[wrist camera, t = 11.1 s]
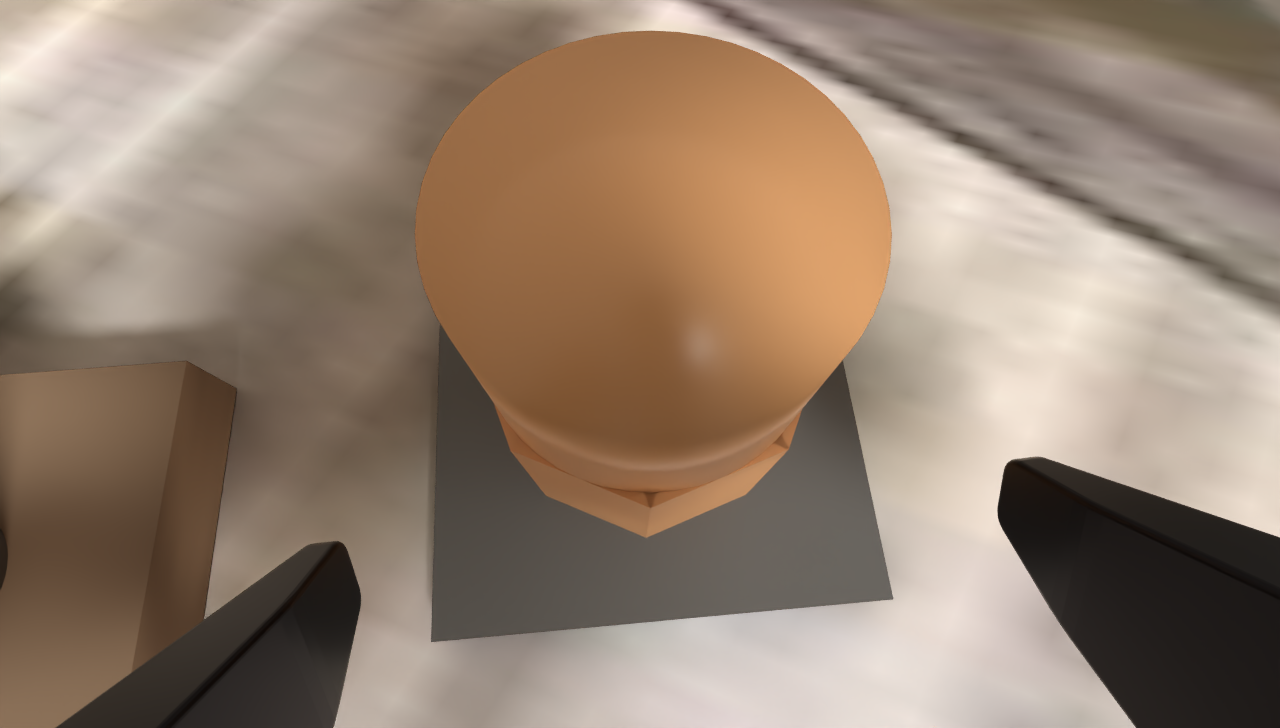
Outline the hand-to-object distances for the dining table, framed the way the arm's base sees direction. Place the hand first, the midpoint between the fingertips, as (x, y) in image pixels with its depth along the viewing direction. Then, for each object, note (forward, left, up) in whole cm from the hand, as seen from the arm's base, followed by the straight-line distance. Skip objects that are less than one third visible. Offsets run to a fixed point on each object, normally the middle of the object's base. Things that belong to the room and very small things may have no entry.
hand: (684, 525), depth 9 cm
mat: (+4, 0, -7) cm, 8 cm away
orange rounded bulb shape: (+4, 0, -6) cm, 7 cm away
